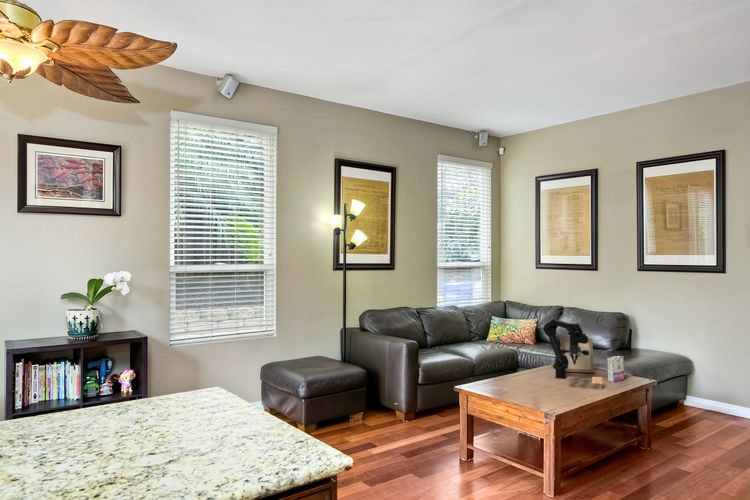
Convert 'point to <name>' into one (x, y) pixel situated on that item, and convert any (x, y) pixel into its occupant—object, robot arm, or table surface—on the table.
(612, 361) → the candy bar box
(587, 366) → the photo frame
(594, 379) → the block
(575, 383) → the chute
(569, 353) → the robot arm
